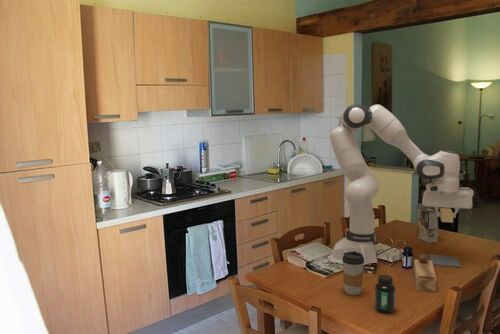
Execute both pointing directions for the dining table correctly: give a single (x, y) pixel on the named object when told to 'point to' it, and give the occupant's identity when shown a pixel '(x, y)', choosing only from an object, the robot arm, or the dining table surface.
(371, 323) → the dining table surface
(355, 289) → the coffee cup
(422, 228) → the coffee box
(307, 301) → the dining table surface
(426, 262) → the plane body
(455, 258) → the mat
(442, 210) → the beige rectangular block
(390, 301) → the supplement bottle
